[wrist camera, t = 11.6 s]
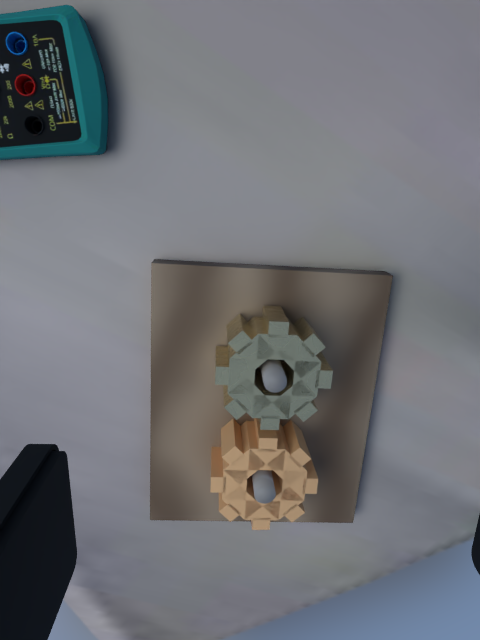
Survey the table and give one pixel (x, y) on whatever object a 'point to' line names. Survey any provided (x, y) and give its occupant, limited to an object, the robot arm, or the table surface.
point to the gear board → (208, 400)
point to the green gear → (278, 344)
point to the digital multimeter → (50, 86)
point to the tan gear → (262, 454)
